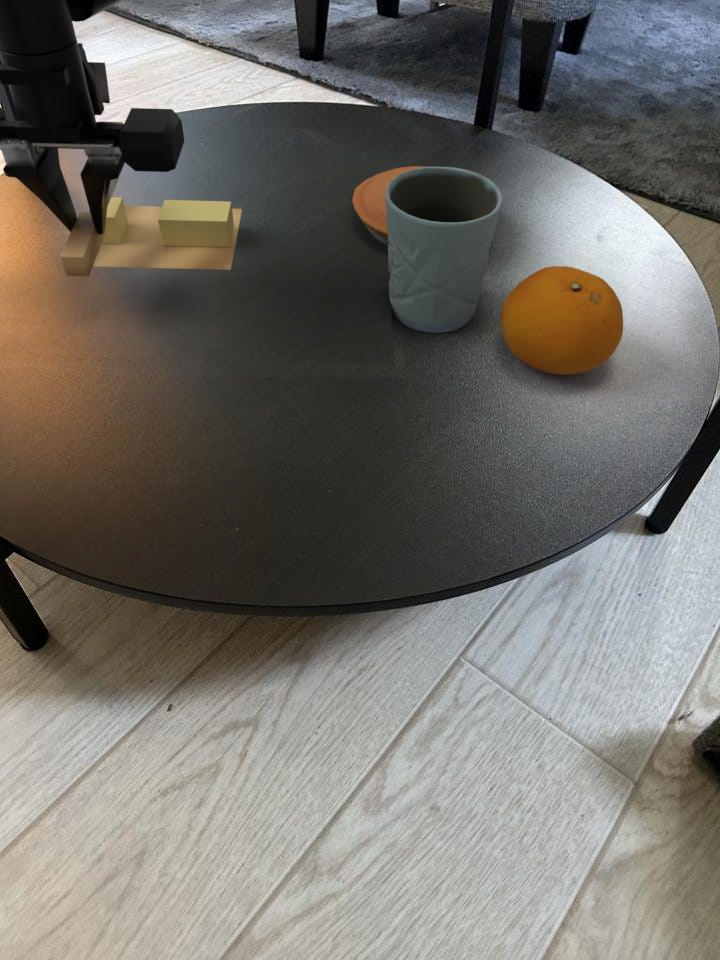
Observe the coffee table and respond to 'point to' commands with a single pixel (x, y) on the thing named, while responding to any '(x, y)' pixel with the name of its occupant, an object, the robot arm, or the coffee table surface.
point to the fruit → (562, 320)
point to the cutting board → (148, 251)
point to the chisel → (83, 243)
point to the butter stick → (196, 223)
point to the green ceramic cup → (439, 244)
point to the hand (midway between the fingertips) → (89, 231)
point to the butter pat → (115, 221)
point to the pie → (376, 201)
